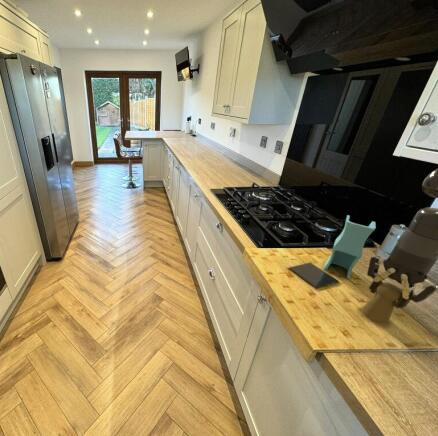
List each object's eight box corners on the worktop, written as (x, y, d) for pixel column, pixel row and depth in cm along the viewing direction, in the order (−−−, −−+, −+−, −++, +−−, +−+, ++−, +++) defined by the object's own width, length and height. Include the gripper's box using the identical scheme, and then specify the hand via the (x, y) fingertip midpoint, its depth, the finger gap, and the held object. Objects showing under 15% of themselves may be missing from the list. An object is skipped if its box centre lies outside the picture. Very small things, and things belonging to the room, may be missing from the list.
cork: (393, 321, 67) (414, 292, 63) (379, 325, 66) (399, 296, 61) (370, 305, 73) (387, 277, 68) (356, 309, 71) (373, 281, 66)
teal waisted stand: (351, 268, 89) (375, 222, 80) (349, 278, 84) (375, 229, 75) (326, 259, 94) (347, 214, 85) (323, 268, 88) (345, 221, 80)
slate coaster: (309, 263, 91) (310, 262, 91) (338, 282, 82) (339, 280, 82) (288, 268, 88) (289, 267, 88) (315, 288, 79) (316, 287, 78)
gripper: (467, 263, 54) (426, 315, 62) (392, 233, 66) (365, 280, 74) (449, 269, 52) (409, 322, 59) (375, 236, 64) (349, 285, 71)
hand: (385, 298), depth 66 cm, fingers closed on cork, 5 cm apart
